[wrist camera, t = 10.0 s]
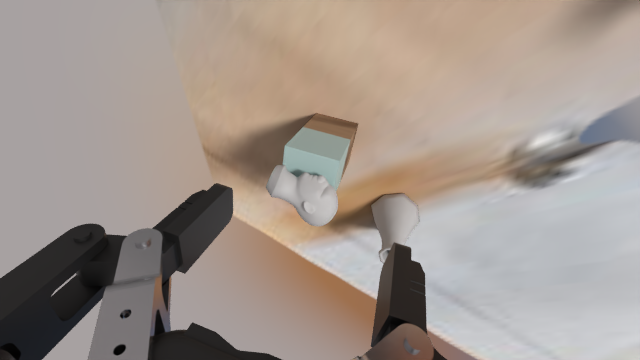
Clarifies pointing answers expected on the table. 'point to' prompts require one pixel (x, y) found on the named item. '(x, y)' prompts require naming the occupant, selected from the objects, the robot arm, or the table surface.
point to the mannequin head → (305, 194)
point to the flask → (394, 220)
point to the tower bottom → (334, 130)
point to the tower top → (316, 155)
